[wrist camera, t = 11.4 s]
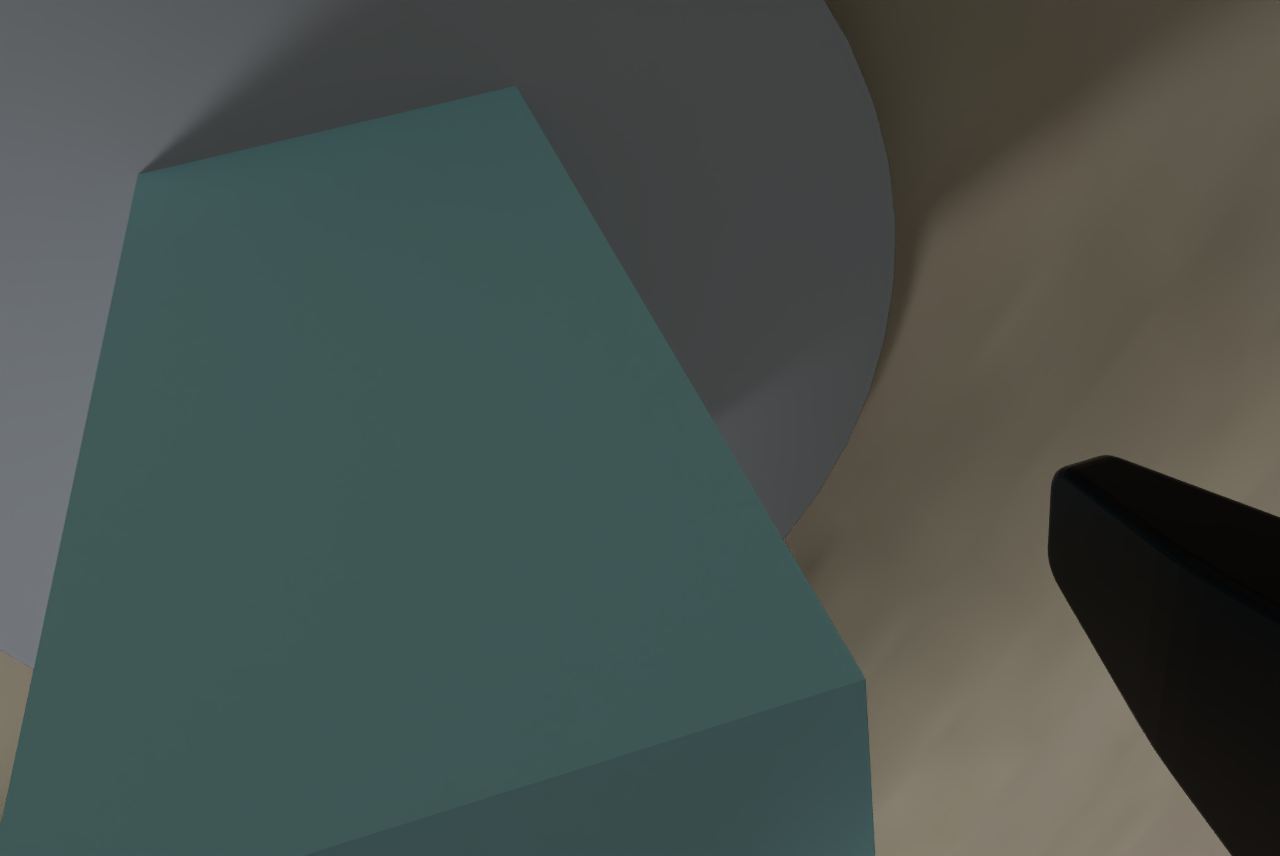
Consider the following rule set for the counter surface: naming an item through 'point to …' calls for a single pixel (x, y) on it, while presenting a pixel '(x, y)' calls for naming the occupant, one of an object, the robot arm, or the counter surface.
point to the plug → (417, 539)
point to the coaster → (433, 74)
